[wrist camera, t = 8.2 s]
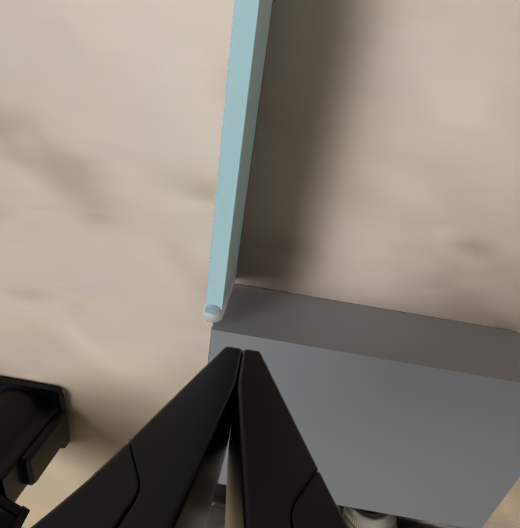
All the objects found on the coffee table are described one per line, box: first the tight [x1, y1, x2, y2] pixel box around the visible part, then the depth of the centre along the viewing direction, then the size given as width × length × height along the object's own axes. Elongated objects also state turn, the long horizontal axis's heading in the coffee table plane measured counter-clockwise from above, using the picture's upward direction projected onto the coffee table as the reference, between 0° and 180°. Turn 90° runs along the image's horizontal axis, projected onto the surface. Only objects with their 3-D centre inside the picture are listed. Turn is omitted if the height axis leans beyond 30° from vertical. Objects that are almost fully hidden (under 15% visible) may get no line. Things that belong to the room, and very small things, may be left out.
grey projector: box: [208, 284, 520, 528], centre depth 20 cm, size 20×12×5 cm, turn 82°
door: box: [203, 0, 273, 323], centre depth 15 cm, size 16×2×5 cm, turn 171°
